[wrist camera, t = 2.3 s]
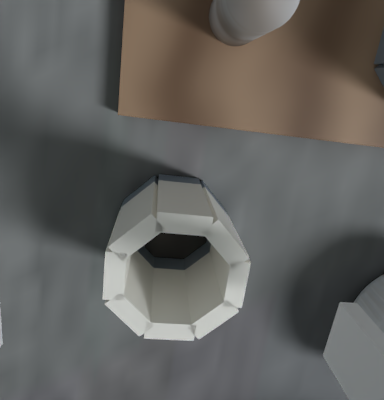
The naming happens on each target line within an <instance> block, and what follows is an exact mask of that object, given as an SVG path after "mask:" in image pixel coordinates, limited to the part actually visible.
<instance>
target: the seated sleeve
mask: <svg viewBox="0 0 384 400" xmlns="http://www.w3.org/2000/svg"><path fill="white" fill-rule="evenodd" d="M374 64H376V65H379V66H377V67H376V68H375V69H374V70H375V72H376V74H377V76H378V77H379V79H380V81H381V83H382V85H383V87H384V28H383V31H382V35H381V39H380V42H379V46H378V50H377V53H376V57H375V61H374Z"/></svg>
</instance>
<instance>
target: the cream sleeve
mask: <svg viewBox="0 0 384 400" xmlns="http://www.w3.org/2000/svg"><path fill="white" fill-rule="evenodd" d="M160 233H172V234H184V235H195V236H205V237H206V238H207V242H206V243H205V244H204V245H202V246H201V247H200V248H198V249H197V250H195V251H194V252H193V253H191V254H190V255H189V256H187V257H186V258H185V259H173V258H160V257H154V256H153V255H152V254H151V253H150V252H149V251H148V250H147V249H146V248H145V247H144V245H145V244H146V243H148V242H149V241H150V240H152V239H153V238H154V237H156V236H157V235H158V234H160ZM249 258H250V257H249V255H248V253H247V251H246V249H245V248H244V246H243V244H242V242H241V240H240V238H239V236H238V234H237V232H236V230H235V228H234V226H233V224H232V222H231V220H230V218H229V216H228V214H227V212H226V210H225V208H224V207H223V206H222V204H221V203H220V202H219V201H218V199H217V198H216V197H215V196H214V194H213V193H212V192H211V191H210V189H209V188H208V187H207V186H206V184H205V183H204V182H203V181H199V178H192V177H182V176H173V175H163V174H159V177H158V178H157V177H156V176H155V175H154V176H153V177H152V178H151V179H149V180H148V181H147V182H145V183H144V184H143V185H142V186H140V187H139V188H138V189H137V190H135V191H134V192H133V193H131V194H130V195H129V196H128V197H126V198H125V199H124V201H123V203H122V205H121V208H120V211H119V213H118V216H117V219H116V222H115V225H114V228H113V231H112V234H111V237H110V239H109V242H108V245H107V248H106V251H105V265H104V283H103V299H104V300H106V301H105V305H106V306H107V307H108V308H109V309H110V310H111V311H113V312H114V313H115V314H116V315H117V316H118V317H119V318H120V319H121V320H122V321H123V322H124V323H125V324H126V325H127V326H129V327H130V328H131V329H132V330H133V331H134V332H135V333H136V334H137V335H138V336H141V335H142V334H144V339H165V340H185V341H194V337H195V336H196V337H197V338H198V339H200V338H202V337H203V336H205V335H206V334H208V333H209V332H211V331H212V330H213V329H215V328H216V327H218V326H219V325H221V324H222V323H224V322H225V321H227V320H228V319H229V318H231V317H232V316H234V315H235V314H237V313H238V312H239V311H238V308H242V305H243V300H244V295H245V290H246V285H247V280H248V275H249V270H250V265H251V262H250V260H249Z"/></svg>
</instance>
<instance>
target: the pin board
mask: <svg viewBox="0 0 384 400" xmlns="http://www.w3.org/2000/svg"><path fill="white" fill-rule="evenodd" d="M383 28H384V0H125V5H124V22H123V38H122V55H121V72H120V88H119V105H118V115H123V116H131V117H139V118H147V119H155V120H163V121H172V122H180V123H188V124H196V125H204V126H212V127H220V128H228V129H236V130H244V131H253V132H261V133H269V134H277V135H285V136H293V137H301V138H309V139H317V140H325V141H334V142H342V143H350V144H358V145H366V146H374V147H382V148H384V87H383V85H382V83H381V81H380V79H379V77H378V76H377V74H376V72H375V70H374V69H375V68H376V67H377V66H379V65H376V64H374V61H375V57H376V53H377V50H378V46H379V42H380V39H381V35H382V31H383Z"/></svg>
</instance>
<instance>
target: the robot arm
mask: <svg viewBox="0 0 384 400" xmlns="http://www.w3.org/2000/svg"><path fill="white" fill-rule="evenodd" d="M2 344H3V342H2V326H1V309H0V347H1V345H2ZM323 357H324V359H325V360H326V362H327V364H328V365H329V367H330V369H331V370H332V372H333V374H334V376H335V377H336V379H337V381H338V382H339V384H340V386H341V387H342V389H343V391H344V393H345V394H346V396H347V398H348V399H349V400H384V333H383V332H382V331H381V330H380V328H379V327H378V326H377V325H376V324H375V323H374V322H373V320H372V319H371V318H370V317H369V316H368V315H367V314H366V313H365V311H364V310H363V309H362V308H361V307H360V306H359V305H358V303H348V302H340V303H339V306H338V309H337V312H336V315H335V319H334V322H333V325H332V328H331V331H330V334H329V337H328V341H327V344H326V347H325V350H324V353H323Z"/></svg>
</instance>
